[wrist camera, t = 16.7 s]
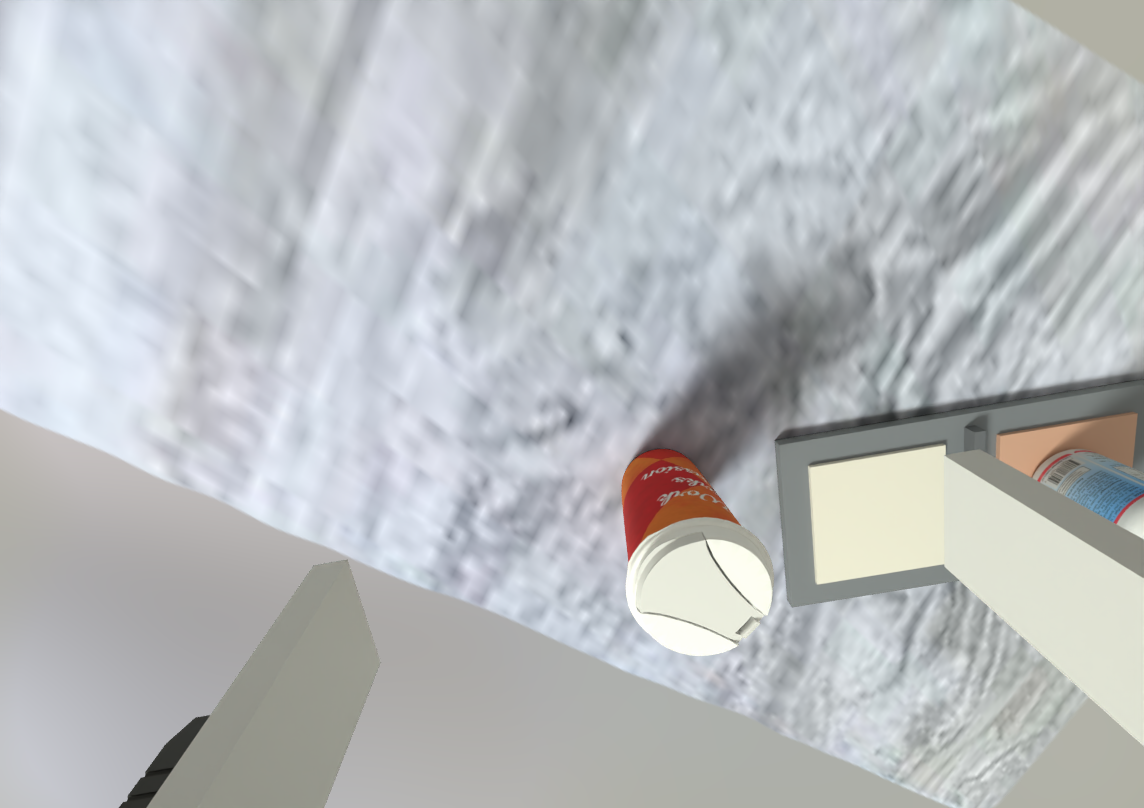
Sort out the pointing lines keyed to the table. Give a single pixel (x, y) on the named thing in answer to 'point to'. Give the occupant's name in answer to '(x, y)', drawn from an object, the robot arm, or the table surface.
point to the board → (922, 484)
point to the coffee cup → (690, 559)
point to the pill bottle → (1098, 486)
